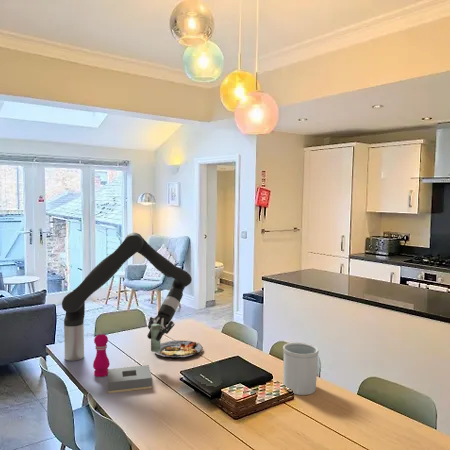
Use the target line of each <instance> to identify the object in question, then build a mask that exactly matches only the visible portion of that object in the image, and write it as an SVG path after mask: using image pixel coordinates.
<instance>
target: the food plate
mask: <svg viewBox="0 0 450 450" xmlns="http://www.w3.org/2000/svg"><path fill="white" fill-rule="evenodd" d="M202 350H203V346H202V345H201V344H200V342H195V341H191V340H168V341H165V342H160V351H158V352H154V353H155V354H156V355H158V356H162V357H168V358H187V357H192V356H196V355H198V354H199V353H200V352H201V351H202Z"/></svg>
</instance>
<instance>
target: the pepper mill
mask: <svg viewBox="0 0 450 450" xmlns="http://www.w3.org/2000/svg"><path fill="white" fill-rule="evenodd" d="M93 341H94V345H95V350H96V355H95V358H94V361H93V364H92V368H93V369H94V370H93V371H94V372H93V374H94V375H93V376H95V377H97V378H103V377H106V376H108V369H109V367H110V365H111V364H110V360H109V358H108V355H107V347H108V345H107V343H108V342H109V337H108V336H107V335H106V334H104V331H103V330H100V331H99V332H98V334H97V335H96V336H95V337H94V339H93Z"/></svg>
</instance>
